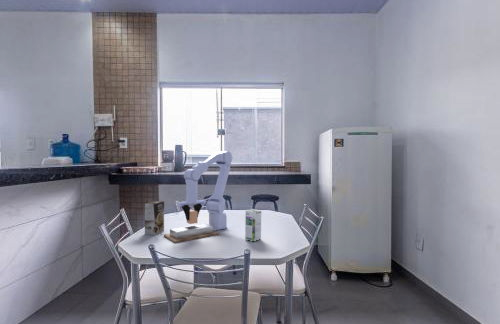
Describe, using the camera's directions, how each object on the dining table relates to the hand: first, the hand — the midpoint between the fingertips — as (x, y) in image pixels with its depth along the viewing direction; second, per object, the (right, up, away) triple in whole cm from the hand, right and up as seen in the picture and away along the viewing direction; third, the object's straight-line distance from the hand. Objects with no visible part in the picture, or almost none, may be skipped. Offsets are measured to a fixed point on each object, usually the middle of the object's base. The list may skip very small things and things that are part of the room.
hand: (191, 219), depth 142 cm
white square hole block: (0, -8, 0) cm, 8 cm away
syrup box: (+31, -9, -7) cm, 33 cm away
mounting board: (0, -8, 0) cm, 8 cm away
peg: (0, -2, 0) cm, 2 cm away
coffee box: (-21, -8, +5) cm, 23 cm away
